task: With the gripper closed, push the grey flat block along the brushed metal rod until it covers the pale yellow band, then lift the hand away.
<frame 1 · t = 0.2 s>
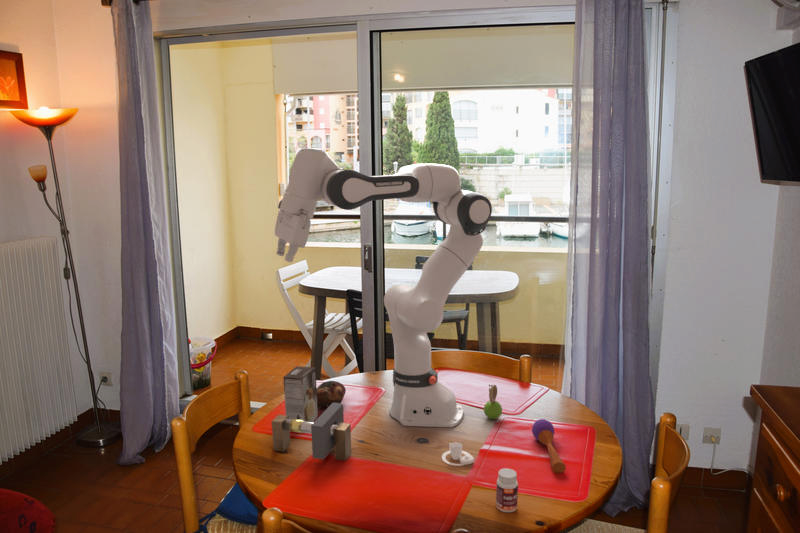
hand: (283, 258, 155), 52 cm above the table, tool tilted 20°, fingers open, 8 cm apart
green feathered ball toy: (492, 419, 175), on the table
pill bottle: (506, 507, 132), on the table
purple and brown maraca: (548, 454, 155), on the table
coffee box: (302, 423, 174), on the table
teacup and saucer: (454, 466, 151), on the table
rod stand: (312, 451, 157), on the table
grey flat block: (328, 429, 155), point 7 cm above the table, slide at 0.0 cm
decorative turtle: (330, 405, 186), on the table
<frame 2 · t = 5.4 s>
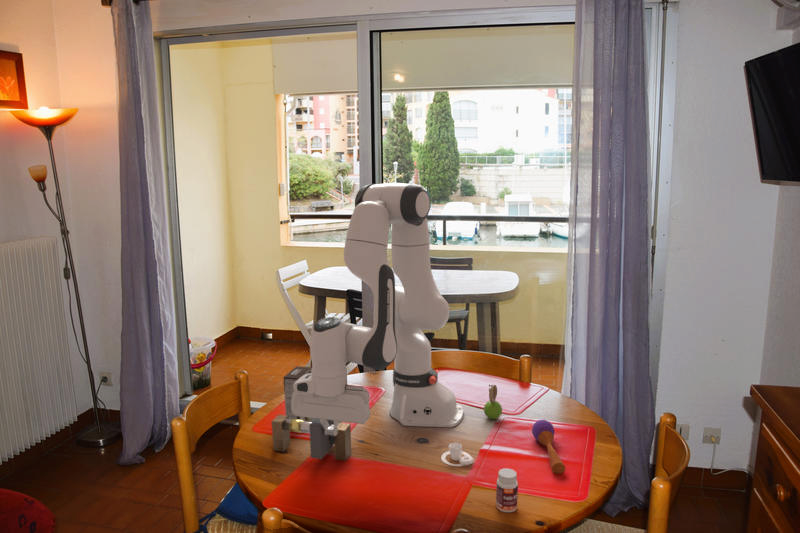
hand: (331, 434, 149), 9 cm above the table, tool pointing down, fingers closed
grey flat block: (326, 429, 155), point 7 cm above the table, slide at 0.5 cm, touching gripper
everything else where it was.
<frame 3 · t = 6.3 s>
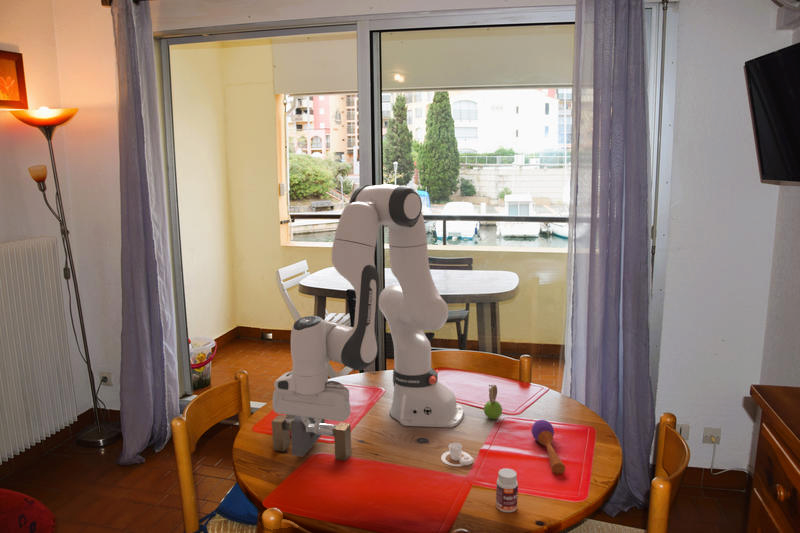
hand: (312, 431, 150), 9 cm above the table, tool pointing down, fingers closed
grey flat block: (308, 427, 156), point 7 cm above the table, slide at 5.8 cm, touching gripper
everything else where it was.
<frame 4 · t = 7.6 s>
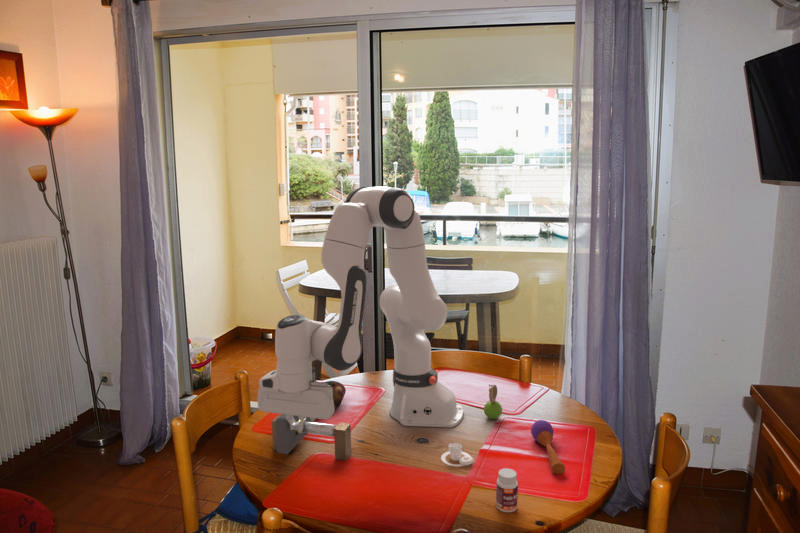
hand: (297, 429, 151), 9 cm above the table, tool pointing down, fingers closed
grey flat block: (293, 425, 158), point 7 cm above the table, slide at 10.1 cm, touching gripper
everything else where it was.
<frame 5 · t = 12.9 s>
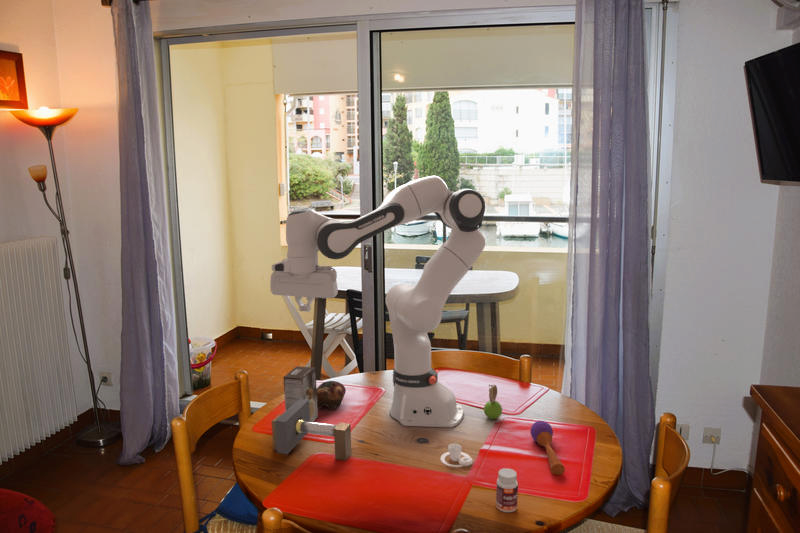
hand: (305, 310, 173), 33 cm above the table, tool pointing down, fingers closed
grey flat block: (293, 425, 158), point 7 cm above the table, slide at 10.1 cm
at the end: grey flat block slide at 10.1 cm; coffee box moved 1.0 cm from its start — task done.
